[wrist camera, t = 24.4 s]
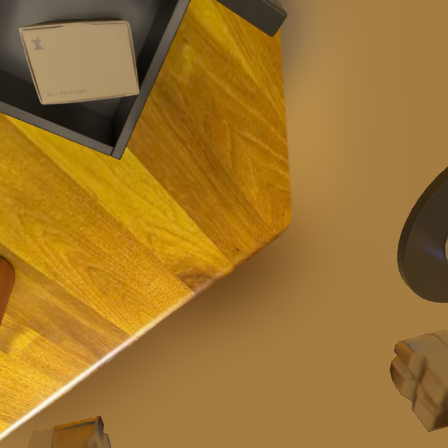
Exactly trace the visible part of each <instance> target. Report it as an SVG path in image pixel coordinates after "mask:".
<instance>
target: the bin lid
mask: <svg viewBox="0 0 448 448" xmlns="http://www.w3.org/2000/svg"><path fill="white" fill-rule="evenodd" d="M216 1H218V2H219V3H221V4H222V5H224V6H225V7H227V8H228V9H230V10H231V11H233V12H234V13H236V14H237V15H239V16H240V17H242V18H243V19H245V20H246V21H248V22H249V23H251V24H252V25H254V26H255V27H257V28H258V29H260V30H261V31H263V32H264V33H266V34H267V35H269V36H270V37H273V36H274V35H275V34H276V32H277V31H278V29H279V28H280V26H281V25H282V23H283V21H284V20H285V19H286V17H287V14H286V12H285V10H284V9H283V8H282V6H281V4H280V3H279V2H278V0H216Z"/></svg>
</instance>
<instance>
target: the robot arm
mask: <svg viewBox="0 0 448 448" xmlns="http://www.w3.org/2000/svg"><path fill="white" fill-rule="evenodd" d="M445 256H446V259H447V261H448V236H447V240H446V244H445ZM394 351H395V353H396V354H397V356H396V357H395V358H394V360H393V361H392V362H391V367H390V373H391V377H392V381H393V383H394V385H395V387H396V388H397V390H398V391H399V392H400V394H401V395H402V396H404V397H405V398H407V399H409V400H411V401H412V410H413V412H414V413H415V414H416V415H417V417H418V419H419V420H420V421H421V423H422V424H423V425H424V427H425V428H426V429H427V431H428V432H430V431H434V430H438V429H441V428H445V427H448V330H442V331H438V332H435V333H431V334H425V335H421V336H417V337H414V338H410V339H406V340H402V341H399V342H398V343H397V344H396V345H395V349H394ZM103 427H104V424H103V421H102V419H101V416H98V417H94V418H90V419H85V420H80V421H76V422H72V423H68V424H63V425H59V426H54V427H50V428H45V429H41V430H38V431H34V433H33V435H32V437H31V439H30V443H29V448H111V445H110V440H109V438H108V435H107V434H105V433H103Z"/></svg>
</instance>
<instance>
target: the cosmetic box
mask: <svg viewBox="0 0 448 448" xmlns="http://www.w3.org/2000/svg"><path fill="white" fill-rule="evenodd" d="M19 32H20V35H21V39H22V44H23V47H24V51H25V54H26V58H27V61H28V65H29V68H30V72H31V75H32V79H33V82H34V85H35V88H36V91H37V94H38V97H39V100H40V103H42V104H61V103H73V102H83V101H91V100H100V99H108V98H116V97H124V96H131V95H137V94H139V86H138V78H137V69H136V61H135V54H134V47H133V40H132V34H131V28H130V24H129V22H127V21H126V20H122V19H119V18H92V19H72V20H58V21H46V22H42V23H37V24H33V25H28V26H24V27H20V28H19Z"/></svg>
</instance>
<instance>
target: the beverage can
mask: <svg viewBox="0 0 448 448" xmlns="http://www.w3.org/2000/svg"><path fill="white" fill-rule="evenodd" d="M14 282H15V275H14V272H13V270H12V268H11V267H10V265H9V264H8V263H7V262H6V261H5V260H3V259H2V258H0V326H1V323H2V319H3V316H4V313H5V310H6V307H7V304H8V301H9V298H10V295H11V292H12V289H13V285H14Z"/></svg>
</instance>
